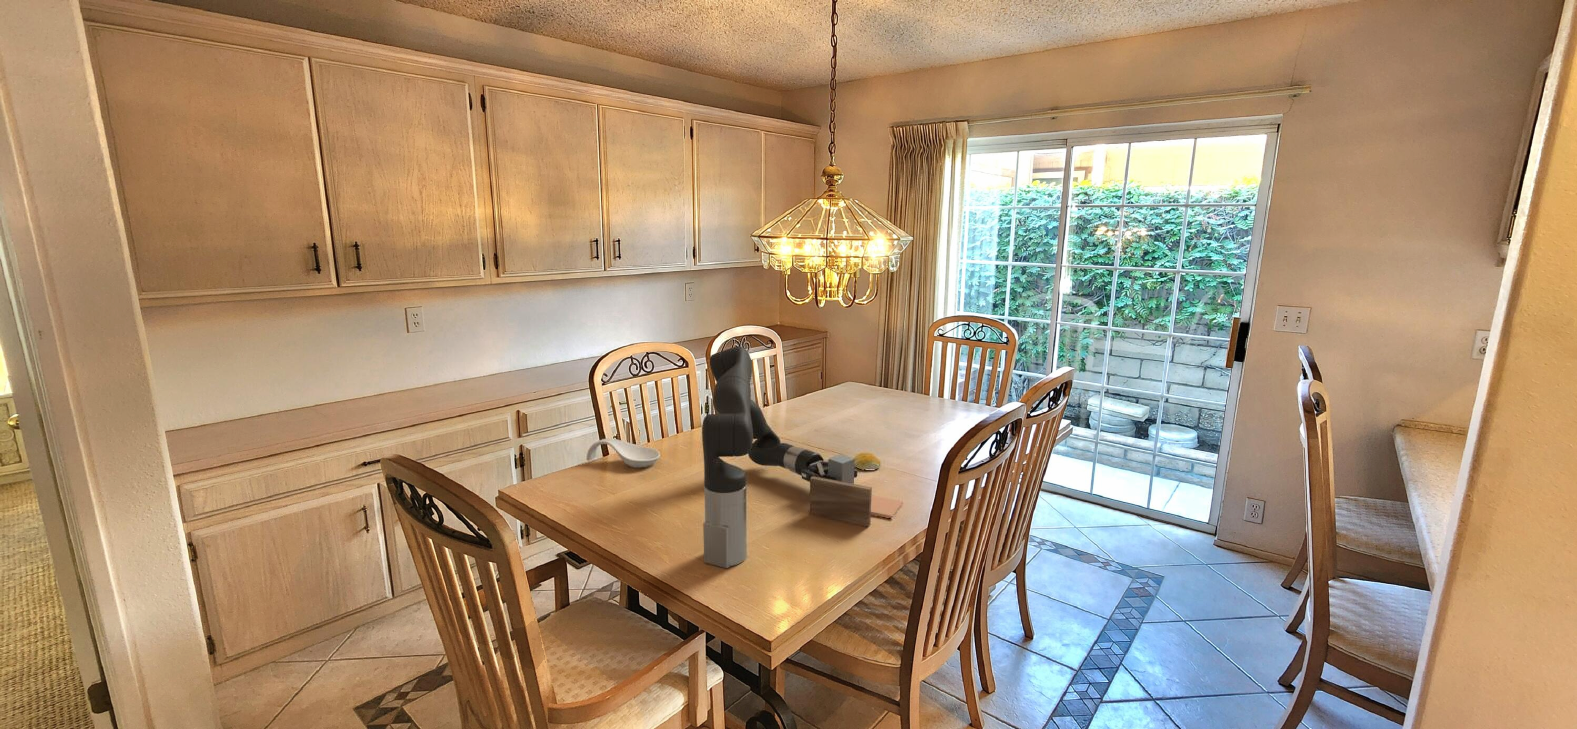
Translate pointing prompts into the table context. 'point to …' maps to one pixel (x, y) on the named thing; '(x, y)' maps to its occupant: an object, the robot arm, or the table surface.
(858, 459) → the bread roll
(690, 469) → the table surface
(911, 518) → the table surface
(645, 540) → the table surface
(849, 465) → the slate block
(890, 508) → the terracotta tile
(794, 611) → the table surface
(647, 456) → the spoon rest
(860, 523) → the walnut screen
